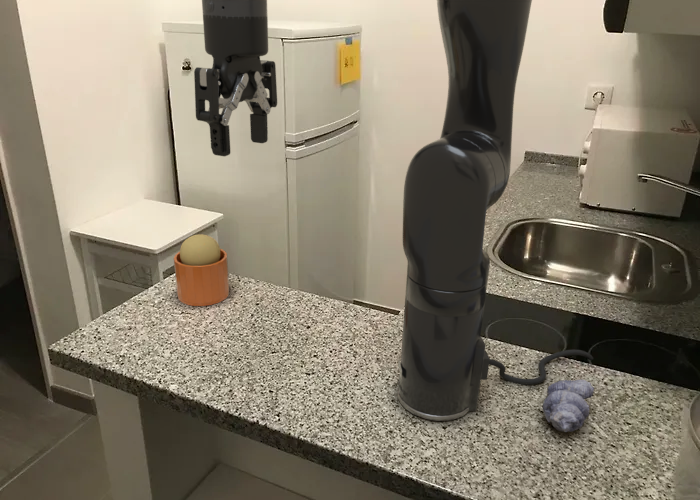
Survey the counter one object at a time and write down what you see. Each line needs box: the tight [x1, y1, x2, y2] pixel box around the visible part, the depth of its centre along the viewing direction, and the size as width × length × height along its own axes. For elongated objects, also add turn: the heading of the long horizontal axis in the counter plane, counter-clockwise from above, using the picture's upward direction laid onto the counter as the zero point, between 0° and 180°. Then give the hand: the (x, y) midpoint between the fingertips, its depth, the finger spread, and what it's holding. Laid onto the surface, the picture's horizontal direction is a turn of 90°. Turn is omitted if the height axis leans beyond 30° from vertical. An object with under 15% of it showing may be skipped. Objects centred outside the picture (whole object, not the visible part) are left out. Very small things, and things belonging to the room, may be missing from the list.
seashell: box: [542, 379, 595, 433], centre depth 70 cm, size 5×5×10 cm
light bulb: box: [179, 233, 221, 266], centre depth 96 cm, size 6×6×10 cm
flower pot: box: [173, 248, 230, 307], centre depth 97 cm, size 8×8×7 cm
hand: (241, 148), depth 75 cm, fingers open, 8 cm apart
